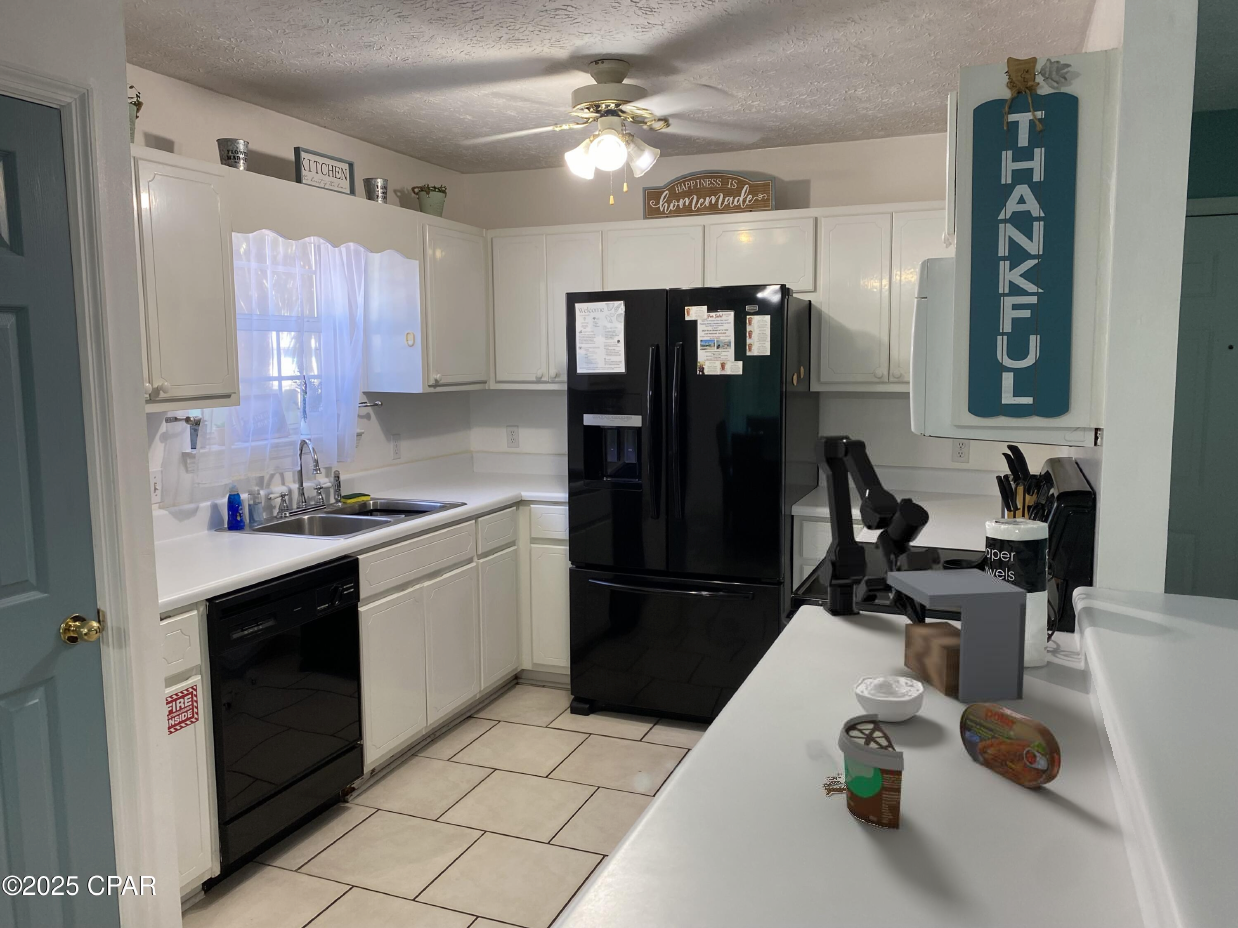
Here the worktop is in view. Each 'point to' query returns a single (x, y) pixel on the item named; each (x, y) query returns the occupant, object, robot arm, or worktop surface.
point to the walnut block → (934, 654)
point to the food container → (871, 771)
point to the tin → (1010, 744)
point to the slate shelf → (978, 627)
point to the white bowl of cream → (889, 696)
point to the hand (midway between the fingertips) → (922, 628)
